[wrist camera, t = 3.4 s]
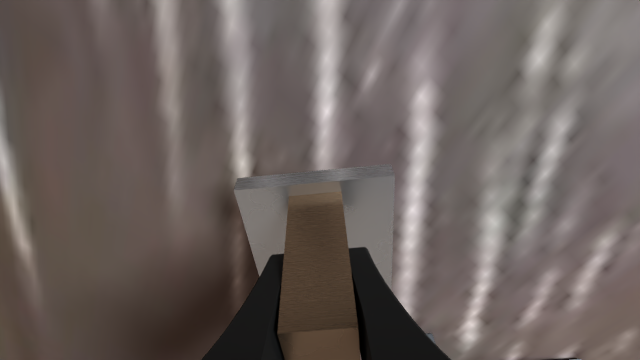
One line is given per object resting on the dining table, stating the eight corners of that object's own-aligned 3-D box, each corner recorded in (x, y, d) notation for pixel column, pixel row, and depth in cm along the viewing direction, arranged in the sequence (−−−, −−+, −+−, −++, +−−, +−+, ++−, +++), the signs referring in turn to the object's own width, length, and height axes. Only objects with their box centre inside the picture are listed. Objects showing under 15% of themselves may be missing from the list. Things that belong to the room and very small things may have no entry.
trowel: (390, 163, 13) (442, 309, 8) (387, 281, 17) (421, 430, 12) (237, 178, 14) (191, 328, 8) (269, 291, 18) (252, 441, 12)
